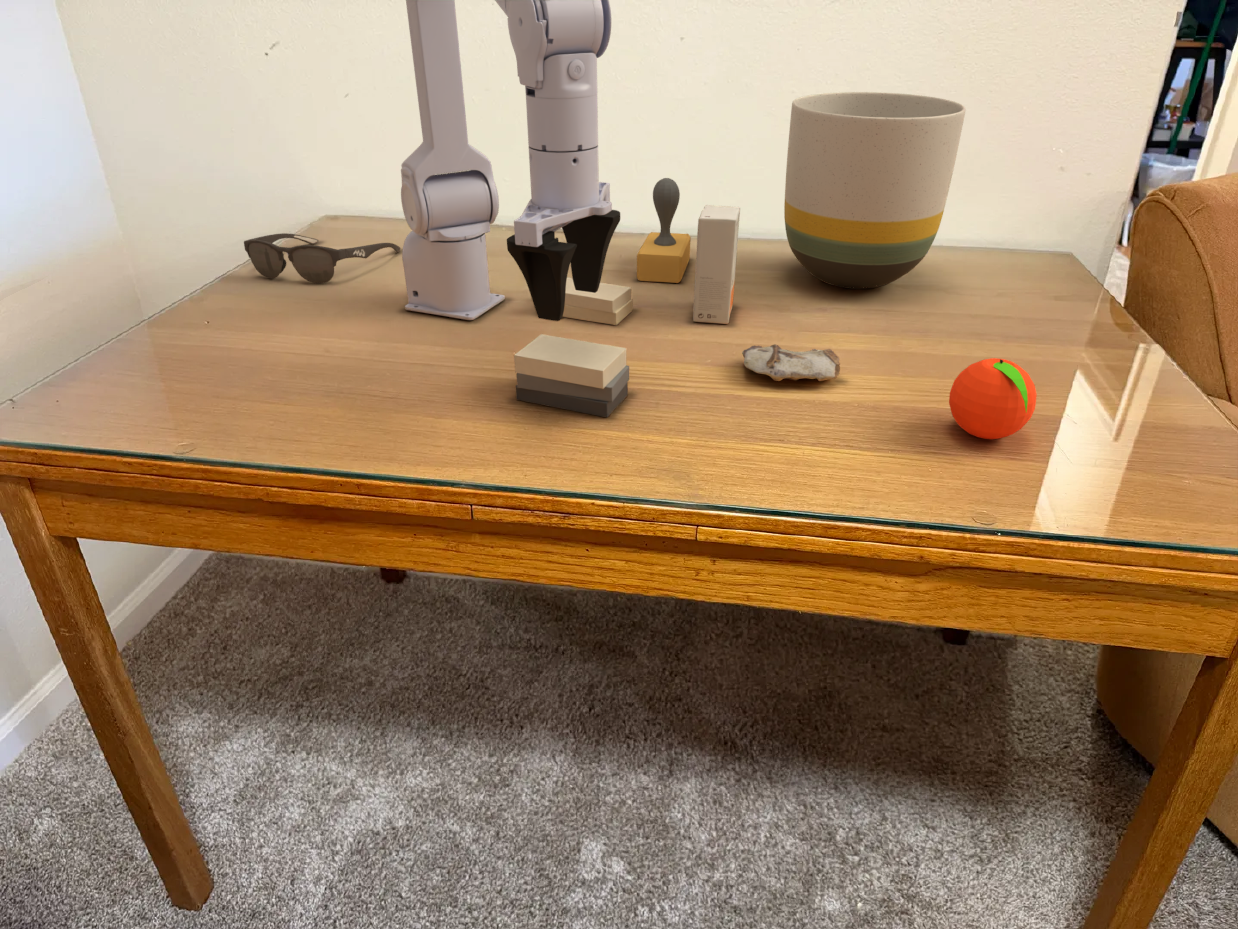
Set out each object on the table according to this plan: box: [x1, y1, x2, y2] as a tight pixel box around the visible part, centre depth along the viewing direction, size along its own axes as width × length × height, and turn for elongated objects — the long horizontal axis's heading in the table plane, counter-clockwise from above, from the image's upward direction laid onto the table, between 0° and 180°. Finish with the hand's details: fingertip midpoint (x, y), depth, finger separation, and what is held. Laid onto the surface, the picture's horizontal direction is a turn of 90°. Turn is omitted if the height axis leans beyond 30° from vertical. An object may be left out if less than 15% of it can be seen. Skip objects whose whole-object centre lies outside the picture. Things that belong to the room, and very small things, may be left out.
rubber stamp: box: [636, 177, 692, 284], centre depth 110 cm, size 10×6×12 cm, turn 169°
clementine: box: [948, 357, 1038, 440], centre depth 72 cm, size 8×7×7 cm
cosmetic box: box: [692, 204, 741, 325], centre depth 97 cm, size 6×4×12 cm
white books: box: [562, 276, 634, 326], centre depth 100 cm, size 10×6×3 cm, turn 67°
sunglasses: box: [243, 232, 401, 284], centre depth 115 cm, size 16×17×5 cm
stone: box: [741, 343, 841, 382], centre depth 85 cm, size 10×7×3 cm
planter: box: [783, 91, 967, 290], centre depth 104 cm, size 20×20×21 cm
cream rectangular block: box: [513, 333, 627, 389], centre depth 79 cm, size 9×6×2 cm, turn 67°
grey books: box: [515, 364, 630, 418], centre depth 80 cm, size 10×6×3 cm, turn 67°
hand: (569, 303), depth 76 cm, fingers open, 7 cm apart
